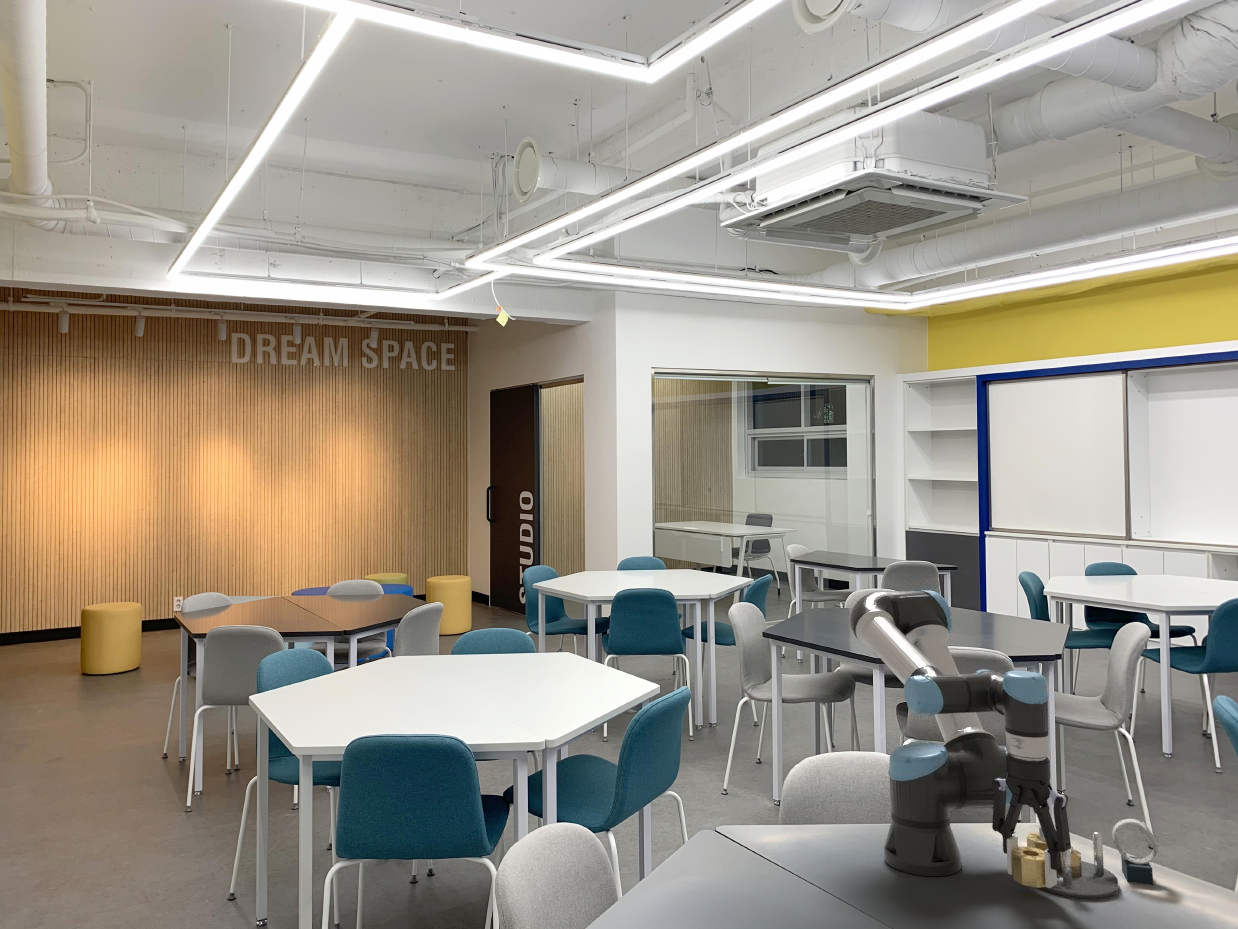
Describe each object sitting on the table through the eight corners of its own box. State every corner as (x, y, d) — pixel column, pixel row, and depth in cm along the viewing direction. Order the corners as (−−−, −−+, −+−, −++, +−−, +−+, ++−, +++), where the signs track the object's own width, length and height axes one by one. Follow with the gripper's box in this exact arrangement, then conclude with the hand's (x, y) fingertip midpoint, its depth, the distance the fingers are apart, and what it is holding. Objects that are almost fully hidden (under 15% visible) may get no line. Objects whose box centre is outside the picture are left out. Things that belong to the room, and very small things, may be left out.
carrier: (1020, 887, 163) (1017, 837, 164) (1031, 859, 177) (1029, 813, 178) (1115, 906, 155) (1112, 853, 155) (1120, 875, 168) (1117, 827, 169)
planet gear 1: (1026, 865, 170) (1025, 840, 170) (1030, 855, 175) (1029, 830, 175) (1060, 871, 167) (1058, 845, 167) (1063, 861, 172) (1062, 836, 172)
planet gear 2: (1012, 882, 159) (1010, 855, 160) (1017, 871, 164) (1015, 844, 165) (1047, 890, 156) (1046, 862, 156) (1051, 878, 161) (1050, 851, 161)
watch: (1165, 886, 163) (1161, 827, 164) (1117, 881, 166) (1113, 823, 166) (1158, 875, 168) (1154, 818, 169) (1111, 870, 171) (1108, 814, 172)
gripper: (969, 747, 167) (972, 866, 166) (1070, 771, 151) (1075, 903, 150) (989, 740, 171) (993, 856, 170) (1090, 763, 156) (1095, 891, 155)
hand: (1031, 878), depth 160 cm, fingers closed on planet gear 2, 6 cm apart
